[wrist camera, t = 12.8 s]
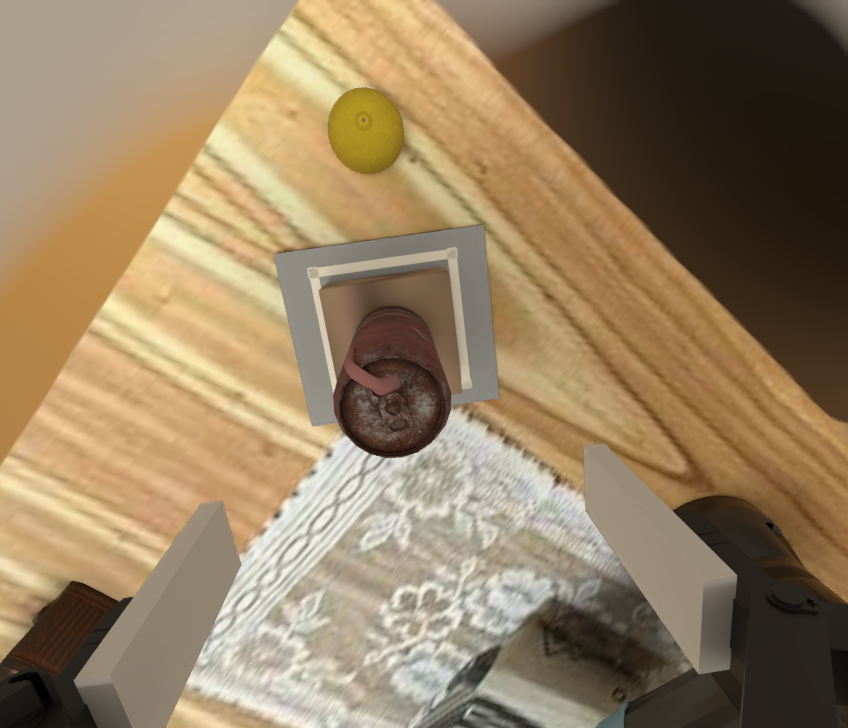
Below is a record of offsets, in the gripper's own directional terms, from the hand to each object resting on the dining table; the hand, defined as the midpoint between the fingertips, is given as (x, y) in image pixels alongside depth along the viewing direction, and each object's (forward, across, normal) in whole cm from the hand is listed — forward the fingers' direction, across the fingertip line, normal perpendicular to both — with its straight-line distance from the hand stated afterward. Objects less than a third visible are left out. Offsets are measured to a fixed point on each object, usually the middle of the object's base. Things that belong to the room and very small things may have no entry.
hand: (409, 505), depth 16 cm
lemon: (+27, 0, -17) cm, 32 cm away
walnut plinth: (+27, 0, -1) cm, 27 cm away
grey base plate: (+27, 0, -1) cm, 27 cm away
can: (+21, +1, -1) cm, 21 cm away
